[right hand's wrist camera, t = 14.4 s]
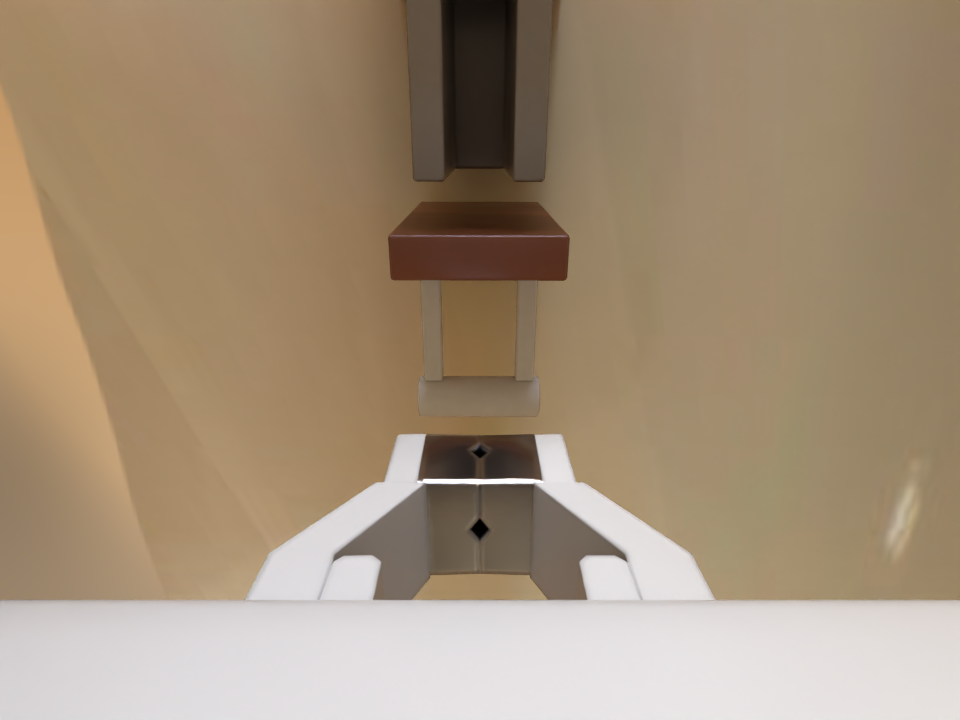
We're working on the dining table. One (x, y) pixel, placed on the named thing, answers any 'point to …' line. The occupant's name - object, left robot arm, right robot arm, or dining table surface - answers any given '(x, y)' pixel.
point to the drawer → (479, 145)
